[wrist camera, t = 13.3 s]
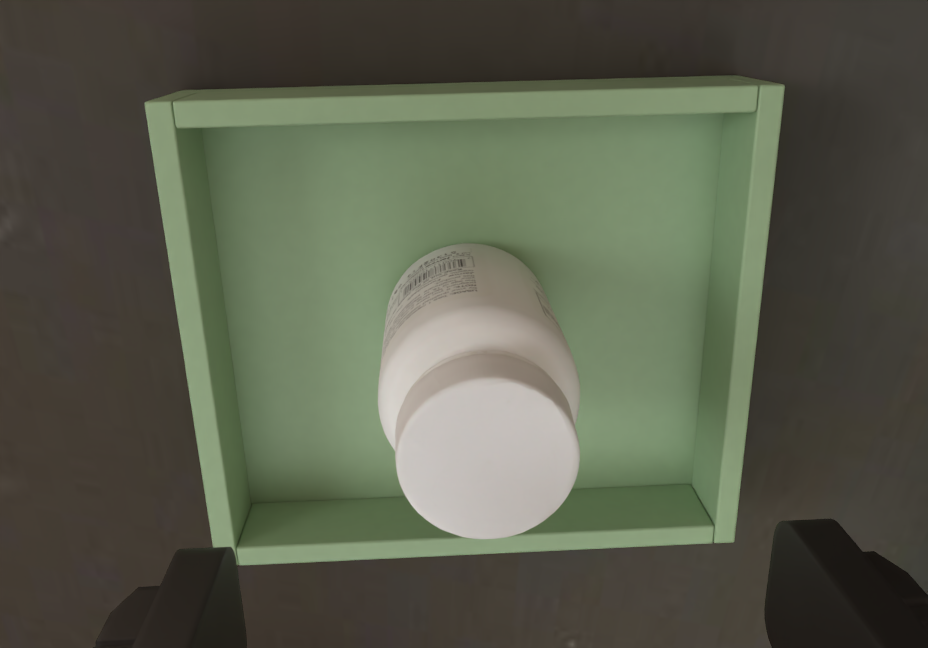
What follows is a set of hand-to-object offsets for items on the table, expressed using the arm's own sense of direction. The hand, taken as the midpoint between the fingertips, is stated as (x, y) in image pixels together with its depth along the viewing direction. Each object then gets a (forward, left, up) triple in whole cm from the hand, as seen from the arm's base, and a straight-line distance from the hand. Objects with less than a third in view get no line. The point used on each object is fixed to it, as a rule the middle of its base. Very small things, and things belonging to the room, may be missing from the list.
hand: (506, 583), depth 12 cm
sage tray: (0, 0, -12) cm, 12 cm away
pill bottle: (0, 0, -11) cm, 11 cm away
